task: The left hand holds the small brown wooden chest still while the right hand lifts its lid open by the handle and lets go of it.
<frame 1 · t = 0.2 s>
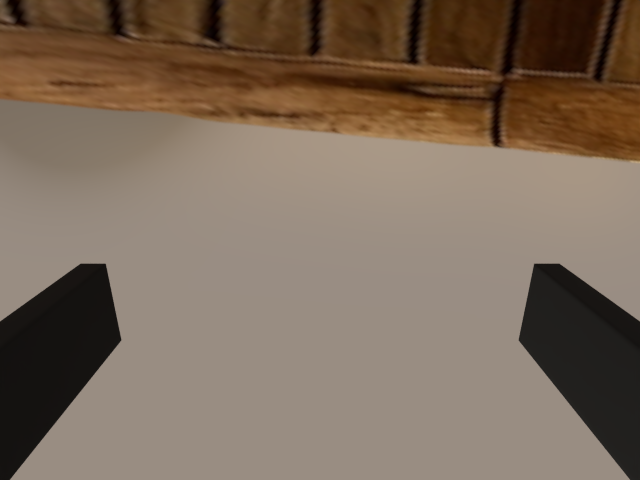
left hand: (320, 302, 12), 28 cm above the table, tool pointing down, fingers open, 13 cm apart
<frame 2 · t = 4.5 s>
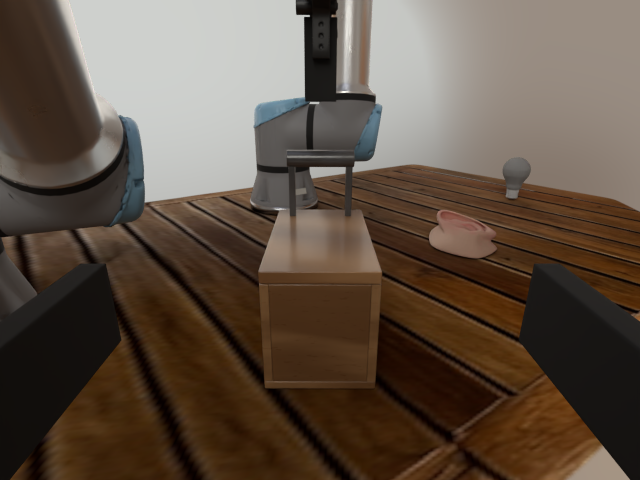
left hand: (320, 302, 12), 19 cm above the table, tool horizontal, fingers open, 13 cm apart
chest: (320, 334, 43), on the table
lid: (320, 203, 39), point 15 cm above the table, hinge at 0.0°
light bulb: (511, 199, 97), on the table
anatomical model: (460, 243, 69), on the table
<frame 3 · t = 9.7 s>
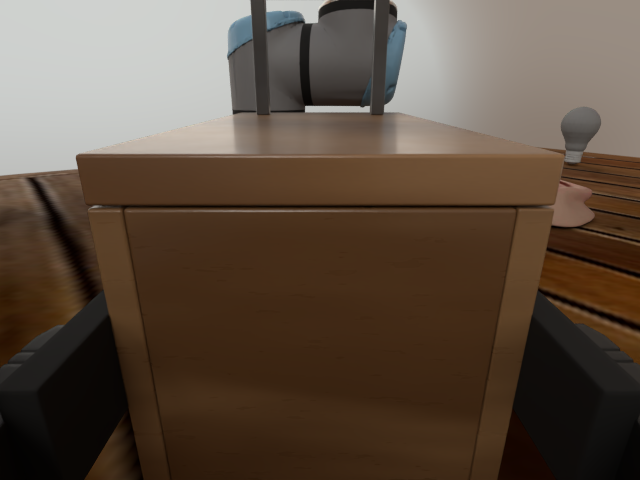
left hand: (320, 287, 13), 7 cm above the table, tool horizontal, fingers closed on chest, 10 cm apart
chest: (320, 364, 20), on the table, touching left hand
lid: (320, 36, 15), point 15 cm above the table, hinge at 0.0°
light bulb: (571, 164, 74), on the table
anatomical model: (533, 209, 46), on the table
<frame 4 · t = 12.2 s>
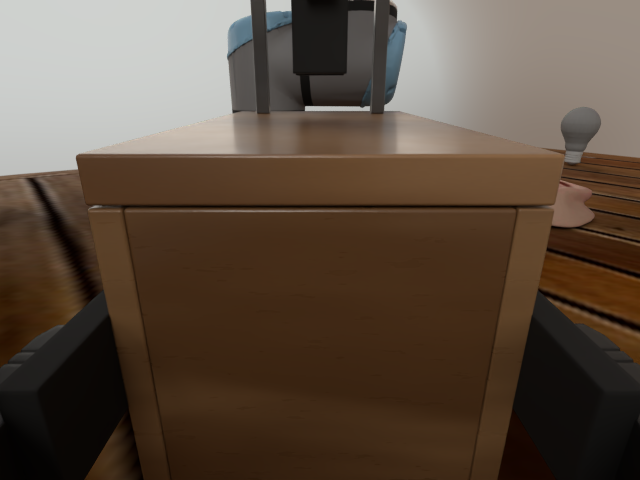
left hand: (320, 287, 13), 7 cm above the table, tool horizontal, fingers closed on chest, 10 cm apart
chest: (320, 364, 20), on the table, touching left hand
lid: (320, 35, 15), point 15 cm above the table, hinge at 0.3°, touching right hand
light bulb: (571, 165, 74), on the table
anatomical model: (533, 210, 46), on the table
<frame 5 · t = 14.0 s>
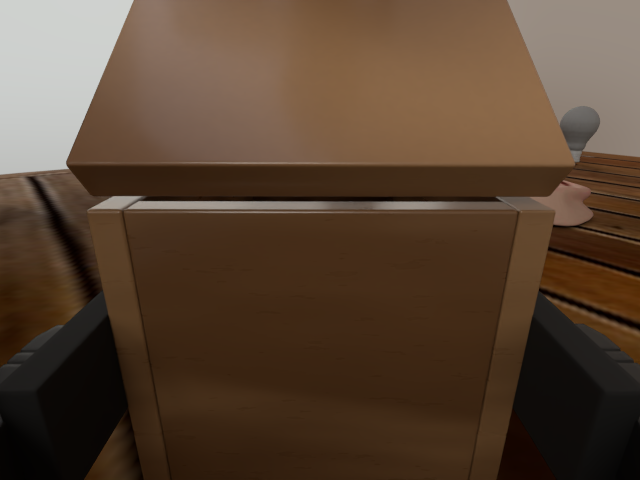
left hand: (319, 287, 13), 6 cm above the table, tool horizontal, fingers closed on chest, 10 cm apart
chest: (319, 362, 20), on the table, touching left hand
light bulb: (570, 164, 74), on the table
anatomical model: (532, 209, 46), on the table
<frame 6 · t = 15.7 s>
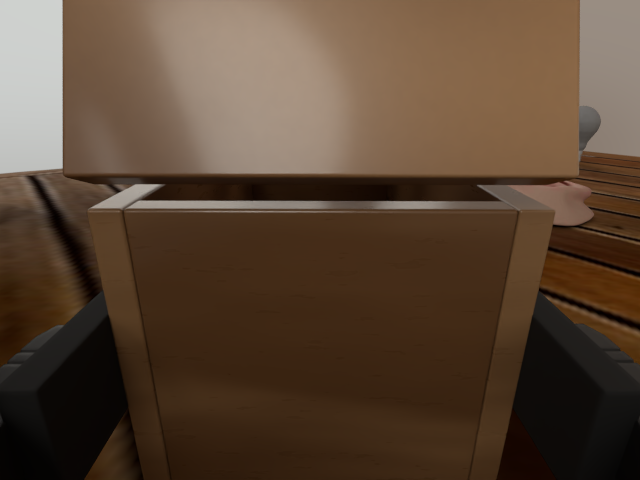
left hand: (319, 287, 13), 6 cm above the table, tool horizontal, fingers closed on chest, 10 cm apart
chest: (319, 362, 20), on the table, touching left hand
light bulb: (571, 163, 74), on the table
anatomical model: (532, 208, 46), on the table
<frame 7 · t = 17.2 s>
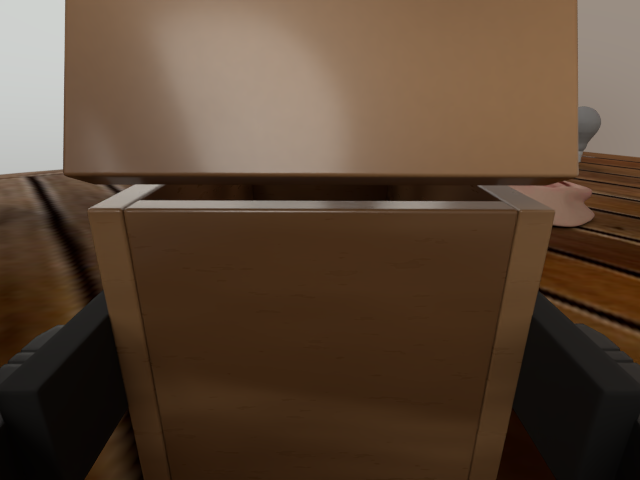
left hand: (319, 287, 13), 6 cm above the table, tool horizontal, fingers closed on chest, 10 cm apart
chest: (319, 362, 20), on the table, touching left hand
light bulb: (571, 164, 74), on the table
anatomical model: (533, 209, 46), on the table
when the left hand's fingers open (6 cm above the table, at t = 19.8 s): chest stays where it is, on the table.
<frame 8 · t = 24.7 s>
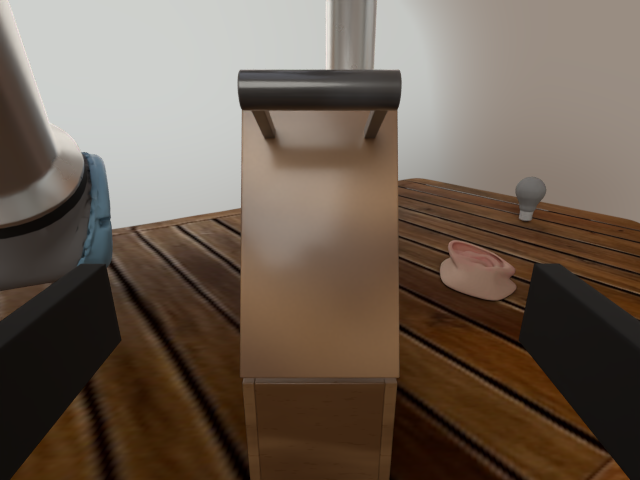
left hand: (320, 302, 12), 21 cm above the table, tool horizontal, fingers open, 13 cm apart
chest: (319, 412, 37), on the table
lid: (319, 231, 22), point 21 cm above the table, hinge at 67.4°
light bulb: (524, 221, 91), on the table
anatomical model: (475, 280, 62), on the table
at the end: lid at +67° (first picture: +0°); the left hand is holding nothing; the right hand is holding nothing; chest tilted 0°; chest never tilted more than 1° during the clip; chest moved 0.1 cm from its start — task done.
